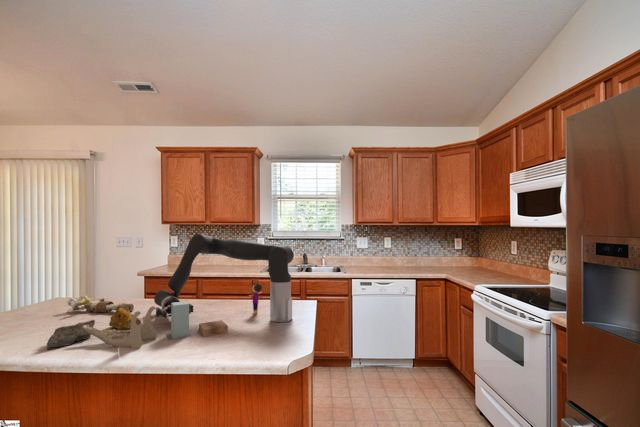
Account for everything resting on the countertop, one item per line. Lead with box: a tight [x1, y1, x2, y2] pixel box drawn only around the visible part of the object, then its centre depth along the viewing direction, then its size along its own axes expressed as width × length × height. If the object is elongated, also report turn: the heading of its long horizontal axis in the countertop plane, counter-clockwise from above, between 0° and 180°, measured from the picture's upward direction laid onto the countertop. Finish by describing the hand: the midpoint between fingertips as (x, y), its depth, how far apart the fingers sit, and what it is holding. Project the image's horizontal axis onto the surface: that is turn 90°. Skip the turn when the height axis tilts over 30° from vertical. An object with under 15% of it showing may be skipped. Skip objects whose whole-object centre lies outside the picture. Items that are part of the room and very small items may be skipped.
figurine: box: [67, 295, 135, 314], centre depth 164 cm, size 24×7×30 cm
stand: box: [198, 319, 229, 337], centre depth 132 cm, size 9×9×3 cm
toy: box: [248, 281, 263, 315], centre depth 159 cm, size 10×6×15 cm, turn 154°
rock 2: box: [108, 308, 142, 331], centre depth 138 cm, size 11×8×10 cm
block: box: [170, 300, 190, 338], centre depth 128 cm, size 6×6×12 cm
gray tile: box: [165, 329, 195, 341], centre depth 128 cm, size 9×9×1 cm
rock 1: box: [46, 319, 96, 348], centre depth 121 cm, size 17×7×10 cm
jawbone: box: [82, 306, 158, 349], centre depth 120 cm, size 25×10×14 cm, turn 84°
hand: (177, 313), depth 134 cm, fingers open, 8 cm apart
